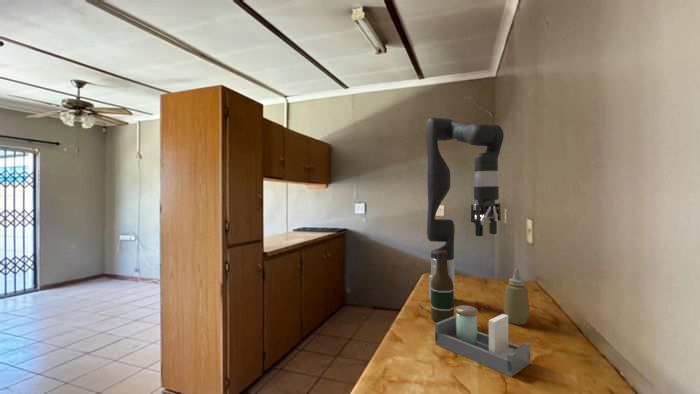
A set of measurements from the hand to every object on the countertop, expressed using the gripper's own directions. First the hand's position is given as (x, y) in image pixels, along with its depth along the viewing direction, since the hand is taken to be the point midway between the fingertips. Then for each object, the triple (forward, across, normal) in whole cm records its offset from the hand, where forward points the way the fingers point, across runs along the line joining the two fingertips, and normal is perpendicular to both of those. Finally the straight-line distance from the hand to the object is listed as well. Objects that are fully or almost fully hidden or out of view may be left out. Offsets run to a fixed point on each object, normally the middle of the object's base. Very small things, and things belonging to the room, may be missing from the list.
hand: (486, 235), depth 106 cm
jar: (+29, -18, -4) cm, 34 cm away
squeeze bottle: (+30, +12, -4) cm, 33 cm away
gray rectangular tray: (+30, -18, -8) cm, 36 cm away
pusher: (+29, -18, -15) cm, 37 cm away
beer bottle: (+30, -6, +13) cm, 34 cm away
